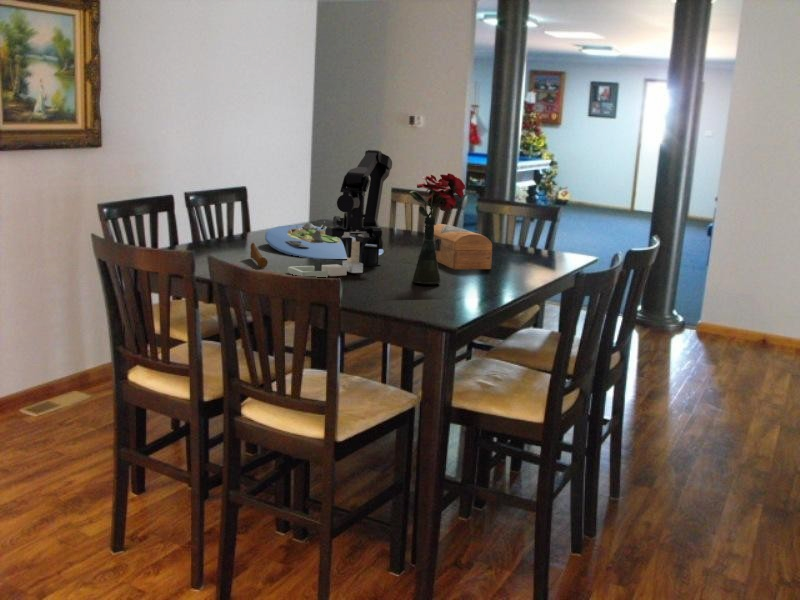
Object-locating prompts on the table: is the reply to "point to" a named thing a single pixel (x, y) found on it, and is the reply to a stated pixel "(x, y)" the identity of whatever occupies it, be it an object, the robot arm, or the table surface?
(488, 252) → the wooden box
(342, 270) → the tile
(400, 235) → the table surface
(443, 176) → the carnation
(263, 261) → the primitive tool
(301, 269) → the bay
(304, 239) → the serving platter
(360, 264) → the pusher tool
